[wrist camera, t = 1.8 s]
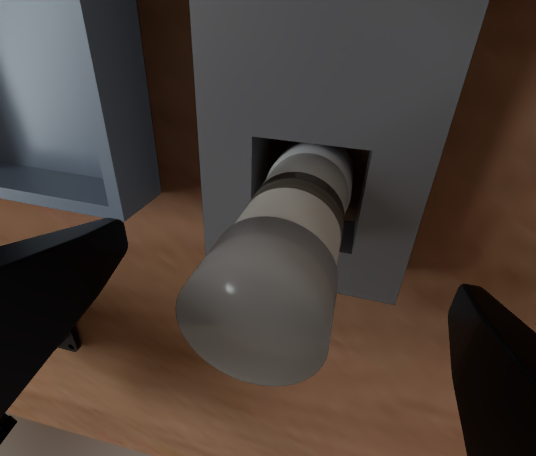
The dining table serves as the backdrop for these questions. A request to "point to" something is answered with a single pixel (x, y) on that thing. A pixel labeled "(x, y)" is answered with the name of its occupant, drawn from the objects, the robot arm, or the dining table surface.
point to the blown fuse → (274, 273)
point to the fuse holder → (332, 109)
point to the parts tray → (75, 107)
